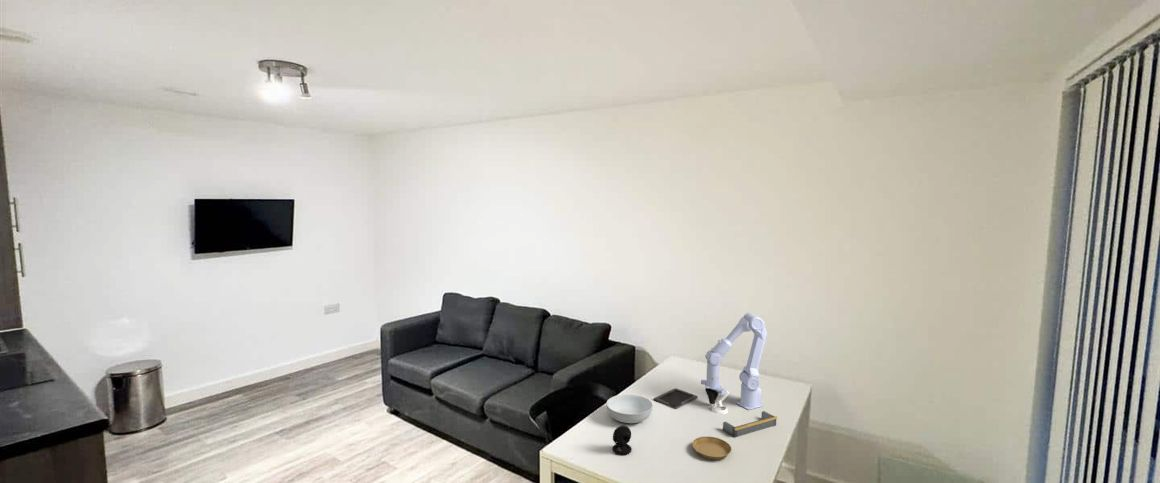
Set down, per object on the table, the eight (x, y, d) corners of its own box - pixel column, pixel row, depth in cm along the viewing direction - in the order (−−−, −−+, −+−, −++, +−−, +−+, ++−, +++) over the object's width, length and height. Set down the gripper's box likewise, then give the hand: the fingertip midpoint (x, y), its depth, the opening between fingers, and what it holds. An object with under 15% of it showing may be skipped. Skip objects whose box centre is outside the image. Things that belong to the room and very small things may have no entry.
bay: (763, 418, 208) (764, 410, 207) (776, 425, 201) (777, 416, 201) (722, 430, 197) (723, 421, 197) (735, 438, 191) (735, 428, 190)
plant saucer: (725, 467, 170) (725, 460, 170) (686, 455, 178) (686, 449, 178) (735, 449, 183) (735, 442, 182) (698, 438, 191) (698, 432, 190)
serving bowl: (658, 412, 214) (658, 398, 213) (644, 433, 195) (644, 417, 194) (615, 404, 222) (615, 390, 222) (599, 423, 203) (599, 408, 203)
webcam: (617, 457, 176) (617, 432, 176) (608, 448, 183) (608, 423, 182) (635, 453, 179) (635, 428, 179) (626, 443, 186) (626, 420, 185)
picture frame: (676, 410, 217) (697, 398, 229) (676, 406, 217) (697, 395, 229) (653, 401, 227) (675, 391, 239) (653, 397, 227) (675, 387, 239)
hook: (741, 403, 211) (730, 396, 209) (724, 422, 214) (713, 415, 212) (734, 393, 218) (724, 386, 217) (718, 411, 221) (707, 405, 219)
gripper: (696, 372, 224) (695, 399, 225) (716, 382, 211) (716, 411, 212) (707, 369, 227) (706, 396, 228) (728, 380, 214) (728, 408, 215)
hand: (712, 403), depth 220 cm, fingers closed
